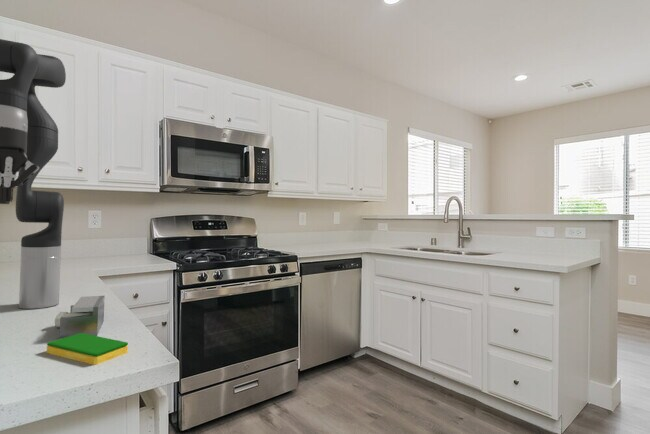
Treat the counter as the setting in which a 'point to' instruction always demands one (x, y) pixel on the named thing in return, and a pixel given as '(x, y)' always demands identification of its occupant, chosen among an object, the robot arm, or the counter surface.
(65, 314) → the pipe fitting
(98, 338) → the dish sponge
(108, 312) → the counter surface
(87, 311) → the bracket
